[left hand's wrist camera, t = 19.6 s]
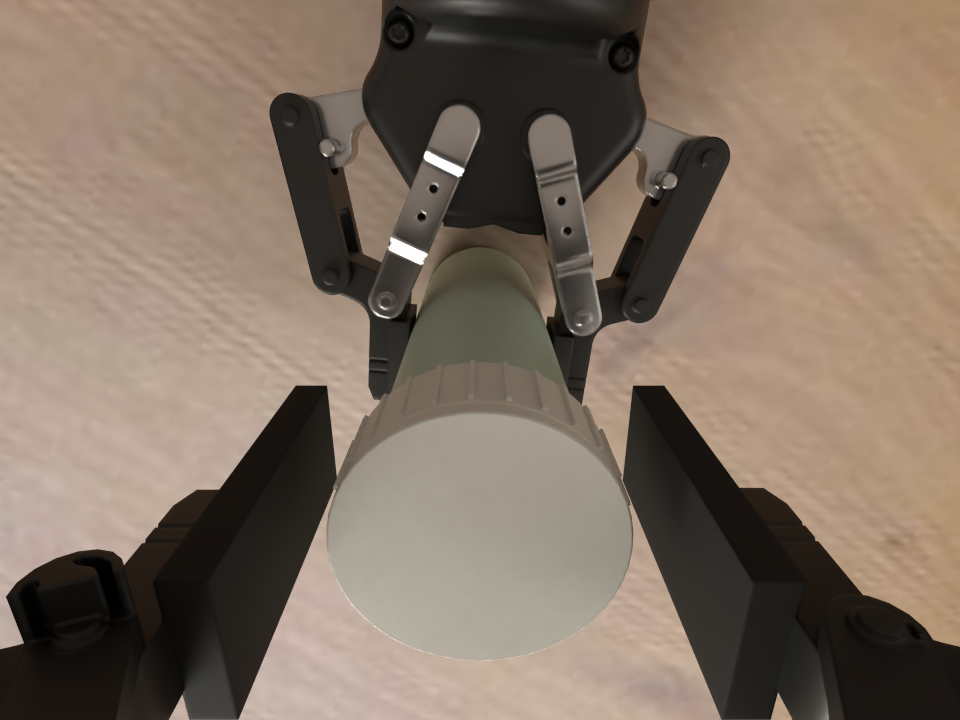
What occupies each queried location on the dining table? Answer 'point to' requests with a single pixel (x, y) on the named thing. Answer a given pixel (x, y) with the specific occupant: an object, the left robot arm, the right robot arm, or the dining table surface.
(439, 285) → the jar
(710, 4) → the dining table surface
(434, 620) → the lid
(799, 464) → the dining table surface
